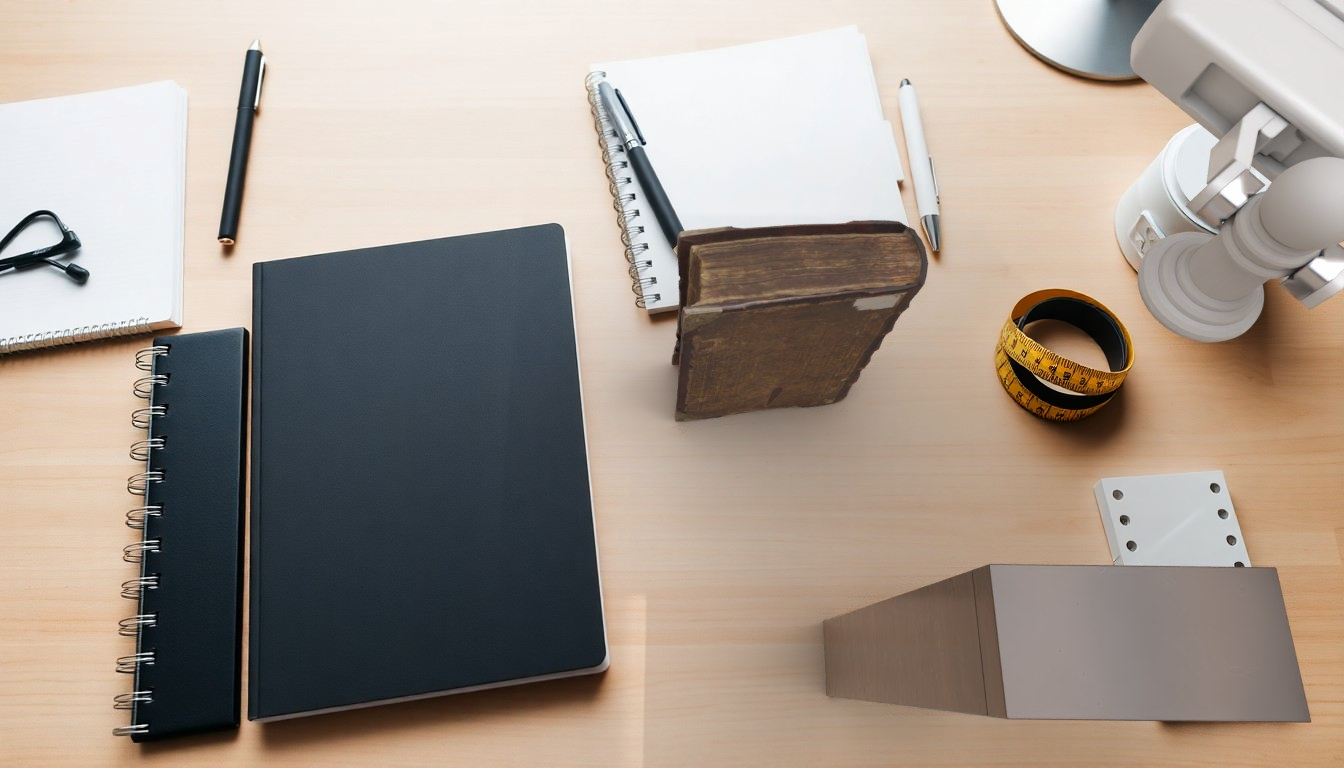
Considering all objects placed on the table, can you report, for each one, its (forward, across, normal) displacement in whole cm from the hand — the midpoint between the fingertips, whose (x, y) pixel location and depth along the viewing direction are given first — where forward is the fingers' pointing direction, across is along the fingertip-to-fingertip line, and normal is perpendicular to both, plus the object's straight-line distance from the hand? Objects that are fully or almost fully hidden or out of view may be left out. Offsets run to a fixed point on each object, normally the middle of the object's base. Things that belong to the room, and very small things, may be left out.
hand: (1256, 250), depth 32 cm
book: (+5, -17, +44) cm, 47 cm away
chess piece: (-1, 0, +5) cm, 5 cm away
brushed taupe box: (+12, +8, +44) cm, 47 cm away
